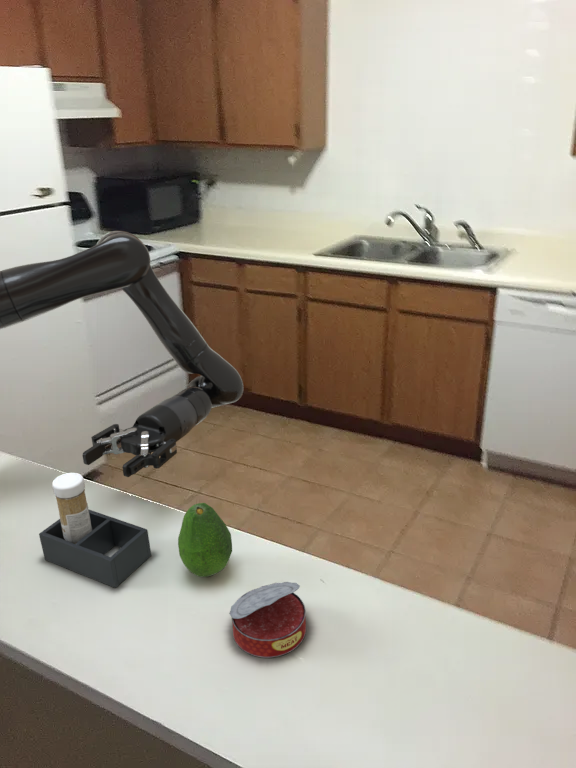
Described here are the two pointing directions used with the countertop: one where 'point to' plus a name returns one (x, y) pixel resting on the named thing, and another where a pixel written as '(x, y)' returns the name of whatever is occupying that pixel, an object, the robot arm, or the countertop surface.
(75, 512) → the sprinkles bottle
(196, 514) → the avocado
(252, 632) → the canned food
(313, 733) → the countertop surface
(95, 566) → the divided storage box
